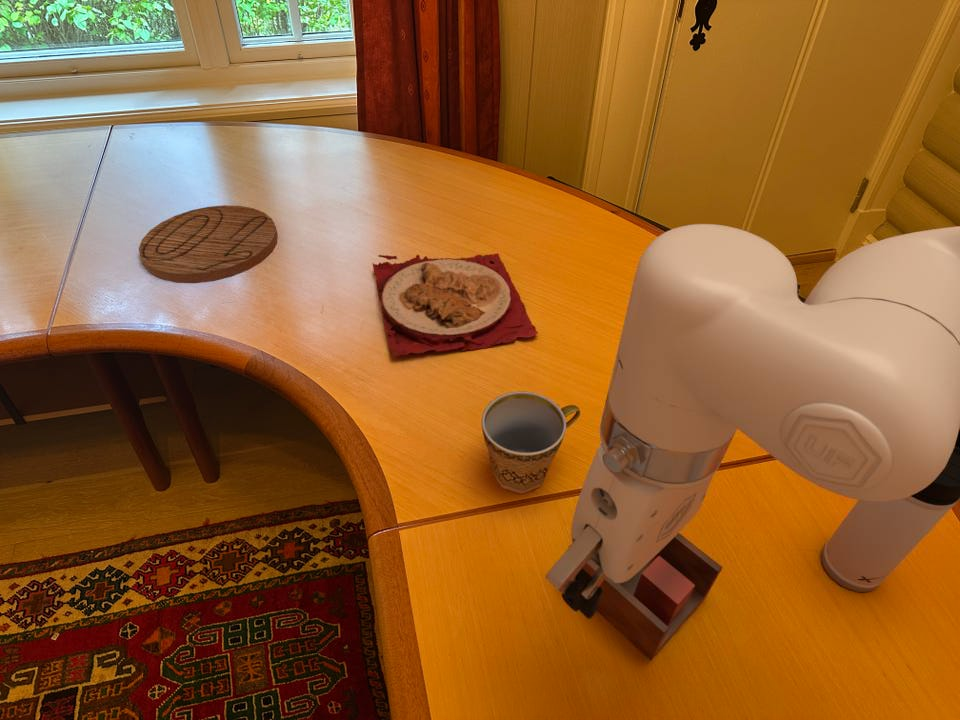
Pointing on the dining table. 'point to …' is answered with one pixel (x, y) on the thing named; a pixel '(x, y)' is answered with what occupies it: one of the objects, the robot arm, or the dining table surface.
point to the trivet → (208, 243)
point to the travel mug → (888, 531)
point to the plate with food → (449, 304)
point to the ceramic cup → (524, 437)
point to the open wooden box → (658, 594)
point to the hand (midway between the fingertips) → (617, 563)
